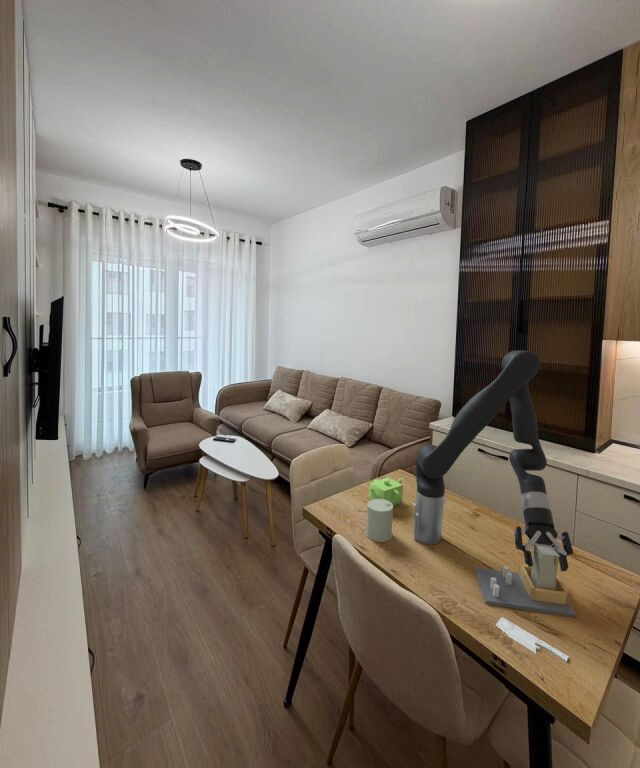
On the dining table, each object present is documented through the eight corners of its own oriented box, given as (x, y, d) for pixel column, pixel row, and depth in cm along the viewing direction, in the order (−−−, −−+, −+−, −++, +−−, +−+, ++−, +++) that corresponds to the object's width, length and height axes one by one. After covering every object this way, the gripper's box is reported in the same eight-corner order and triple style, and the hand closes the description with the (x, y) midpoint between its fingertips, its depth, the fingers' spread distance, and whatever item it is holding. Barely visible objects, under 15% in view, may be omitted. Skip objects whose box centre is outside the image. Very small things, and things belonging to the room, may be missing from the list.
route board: (485, 603, 100) (487, 590, 100) (475, 570, 114) (476, 558, 113) (575, 617, 96) (577, 603, 95) (553, 580, 110) (554, 568, 109)
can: (395, 540, 128) (397, 509, 126) (370, 543, 127) (371, 511, 125) (386, 526, 137) (388, 496, 135) (362, 528, 136) (363, 498, 134)
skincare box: (554, 596, 102) (560, 557, 100) (537, 594, 103) (542, 555, 100) (545, 580, 108) (550, 543, 106) (529, 578, 109) (534, 541, 107)
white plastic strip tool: (561, 673, 81) (561, 668, 81) (493, 630, 93) (493, 626, 92) (568, 659, 85) (569, 655, 84) (502, 619, 96) (502, 615, 96)
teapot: (402, 497, 160) (403, 474, 158) (405, 513, 146) (406, 489, 145) (367, 495, 162) (368, 472, 160) (366, 510, 149) (367, 486, 147)
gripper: (515, 503, 110) (523, 562, 101) (567, 509, 107) (581, 570, 98) (507, 511, 116) (515, 567, 107) (557, 516, 113) (570, 574, 104)
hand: (547, 568), depth 103 cm, fingers open, 8 cm apart
